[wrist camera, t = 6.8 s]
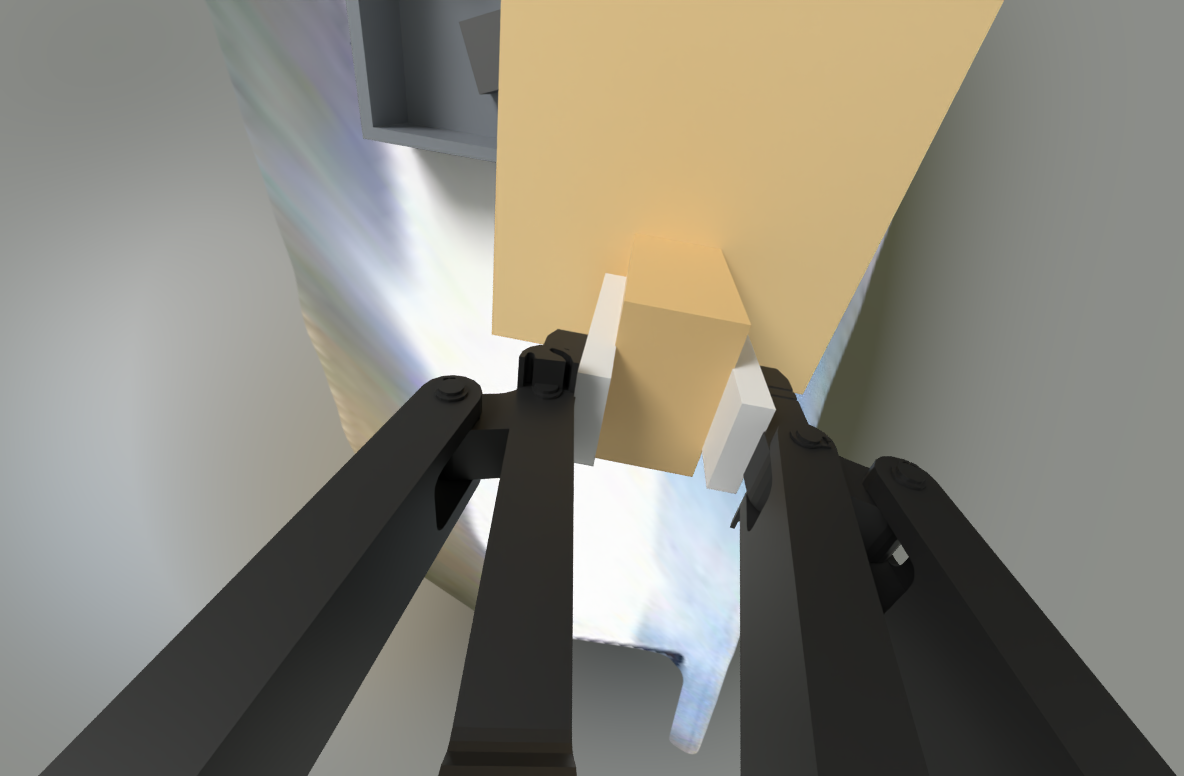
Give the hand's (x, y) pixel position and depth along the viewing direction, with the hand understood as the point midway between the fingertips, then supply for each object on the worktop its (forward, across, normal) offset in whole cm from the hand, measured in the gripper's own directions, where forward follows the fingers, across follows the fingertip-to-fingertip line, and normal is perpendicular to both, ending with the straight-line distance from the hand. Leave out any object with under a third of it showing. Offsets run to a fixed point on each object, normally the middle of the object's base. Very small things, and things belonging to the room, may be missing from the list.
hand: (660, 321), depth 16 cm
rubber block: (+24, -13, +7) cm, 28 cm away
